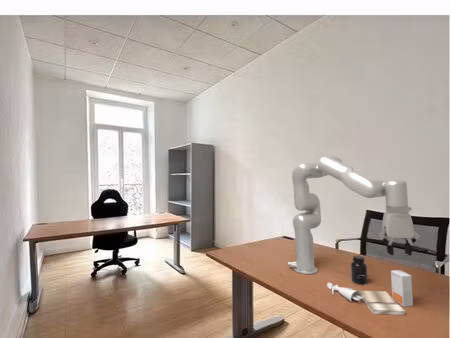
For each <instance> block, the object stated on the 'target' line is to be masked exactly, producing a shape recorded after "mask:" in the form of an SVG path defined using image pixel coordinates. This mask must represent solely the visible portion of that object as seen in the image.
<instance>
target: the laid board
mask: <svg viewBox="0 0 450 338" xmlns="http://www.w3.org/2000/svg"><path fill="white" fill-rule="evenodd" d="M367 308H368V309H369V310H370V311H371V312H372V314H374V315H394V316H395V315H396V316H397V315H398V316H406V310H405V309H404V308H402V306H400V304H399V303H396V304H386V303H368V305H367Z"/></svg>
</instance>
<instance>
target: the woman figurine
mask: <svg viewBox="0 0 450 338" xmlns="http://www.w3.org/2000/svg"><path fill="white" fill-rule="evenodd" d="M326 287H327V288H328V290H331V293H332V294H334V293H335V291H337V292H338V293H339V294H340V295H341V296H342V297H343V298H345V299H346V300H349V302H353V301H352V300H354V301H358V302H360V301H361V300H362V301H363V300H364V296H363V295H361V293H360V292H359V291H360V290H355V289H353V288H352V287H342V286H339V285H338V284H335V285H333V283H332V282H327V284H326ZM361 296H362V297H361Z"/></svg>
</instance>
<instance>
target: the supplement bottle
mask: <svg viewBox="0 0 450 338" xmlns="http://www.w3.org/2000/svg"><path fill="white" fill-rule="evenodd" d="M350 268H351V269H350V271H351V272H350V273H351V274H350V275H351V276H350V277H351V278H350V279H351V281H352V283H354V284H356V285H362V286H363V285H367V284H368V266H367V263H366V262H365V258H364V257H363V256H360V255H353V257H352V262H351V263H350Z"/></svg>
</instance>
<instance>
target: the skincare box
mask: <svg viewBox="0 0 450 338" xmlns="http://www.w3.org/2000/svg"><path fill="white" fill-rule="evenodd" d="M390 276H391V277H390V279H391V280H390V281H391V298H392V299H393V300H394V301H395V302H396V303H397V304H398V305H401V307H413V306H414V302H413V301H414V298H413V284H412V275H411V274H409V273H407V272H405V271H403V270H401V269H395V270H394V269H393V270H390Z"/></svg>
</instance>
